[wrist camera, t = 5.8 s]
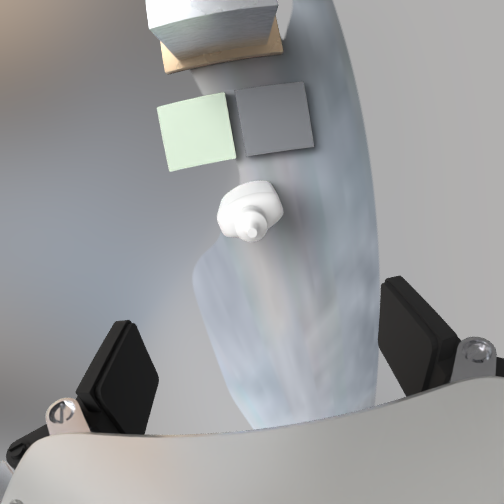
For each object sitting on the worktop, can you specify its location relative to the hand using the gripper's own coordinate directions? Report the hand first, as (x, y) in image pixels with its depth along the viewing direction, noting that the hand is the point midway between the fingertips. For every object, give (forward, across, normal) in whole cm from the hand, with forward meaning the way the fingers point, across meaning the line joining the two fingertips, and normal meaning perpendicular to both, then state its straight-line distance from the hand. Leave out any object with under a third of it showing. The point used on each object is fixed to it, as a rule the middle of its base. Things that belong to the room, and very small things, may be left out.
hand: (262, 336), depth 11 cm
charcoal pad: (+23, -4, -8) cm, 25 cm away
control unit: (+23, 0, -19) cm, 30 cm away
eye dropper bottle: (+24, 0, 0) cm, 24 cm away
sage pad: (+23, +4, -8) cm, 25 cm away
